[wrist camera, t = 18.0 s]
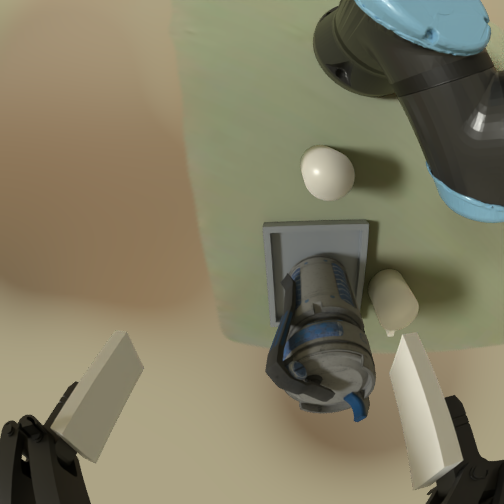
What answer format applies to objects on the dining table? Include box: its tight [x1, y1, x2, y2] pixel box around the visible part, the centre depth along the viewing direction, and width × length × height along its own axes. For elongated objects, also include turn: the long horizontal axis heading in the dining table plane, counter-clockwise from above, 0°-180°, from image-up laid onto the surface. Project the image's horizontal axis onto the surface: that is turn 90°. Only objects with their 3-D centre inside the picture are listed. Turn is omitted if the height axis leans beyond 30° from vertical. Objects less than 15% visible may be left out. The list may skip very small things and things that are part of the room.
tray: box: [263, 220, 369, 327], centre depth 44 cm, size 19×16×2 cm
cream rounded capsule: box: [300, 145, 355, 201], centre depth 34 cm, size 6×6×9 cm
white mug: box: [368, 269, 419, 337], centre depth 41 cm, size 9×7×8 cm
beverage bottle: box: [266, 255, 376, 422], centre depth 34 cm, size 10×13×25 cm
